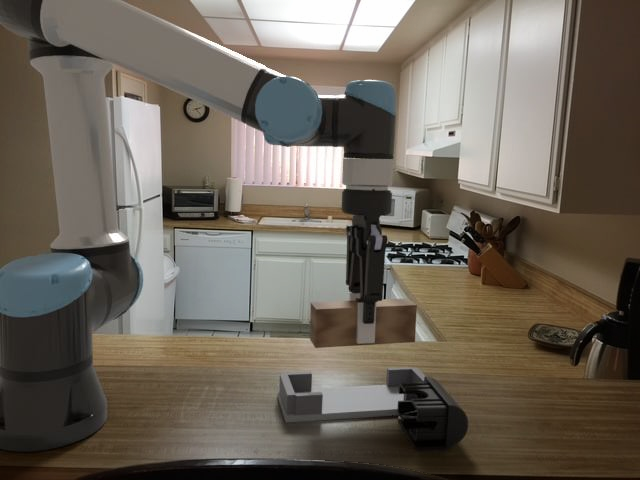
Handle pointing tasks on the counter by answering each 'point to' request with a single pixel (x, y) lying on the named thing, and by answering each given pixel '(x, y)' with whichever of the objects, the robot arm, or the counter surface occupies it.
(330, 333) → the wooden block
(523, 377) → the counter surface
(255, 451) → the counter surface
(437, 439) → the end cap
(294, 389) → the holder
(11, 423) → the robot arm
